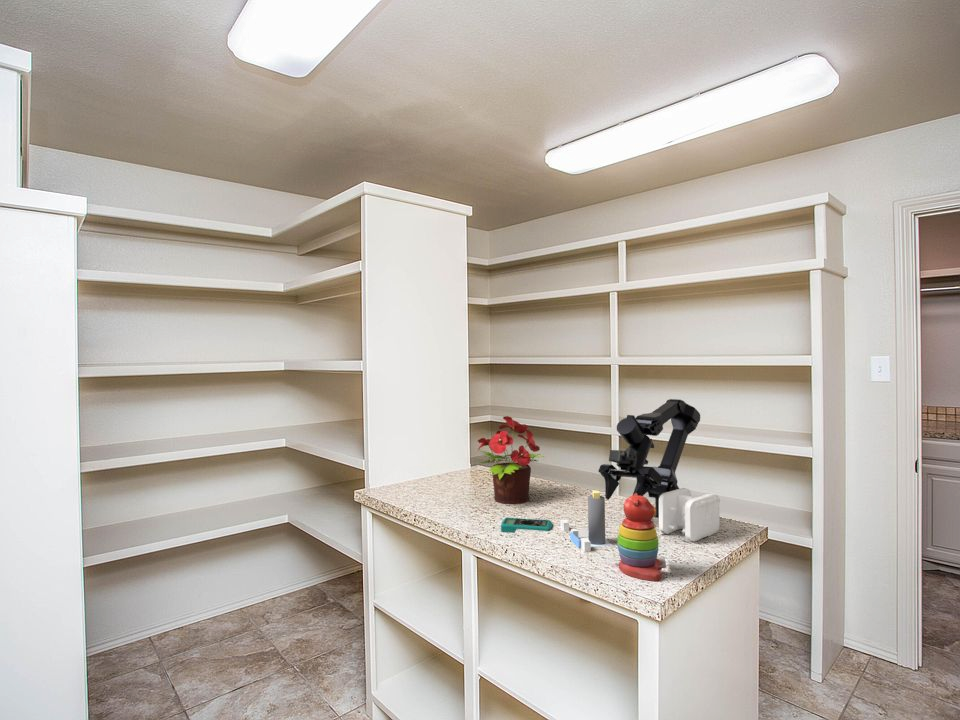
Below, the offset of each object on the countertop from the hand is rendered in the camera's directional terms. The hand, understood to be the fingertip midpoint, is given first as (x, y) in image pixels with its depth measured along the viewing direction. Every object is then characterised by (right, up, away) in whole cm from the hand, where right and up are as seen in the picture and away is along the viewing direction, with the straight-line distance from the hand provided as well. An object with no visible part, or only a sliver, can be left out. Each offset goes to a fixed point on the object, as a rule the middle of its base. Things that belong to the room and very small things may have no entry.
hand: (619, 500), depth 146 cm
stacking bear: (-1, -11, -22) cm, 25 cm away
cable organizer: (+21, -11, +3) cm, 24 cm away
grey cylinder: (-8, -10, -6) cm, 13 cm away
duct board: (-8, -11, -2) cm, 14 cm away
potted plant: (-29, -11, +44) cm, 54 cm away
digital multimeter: (-25, -12, +9) cm, 29 cm away
